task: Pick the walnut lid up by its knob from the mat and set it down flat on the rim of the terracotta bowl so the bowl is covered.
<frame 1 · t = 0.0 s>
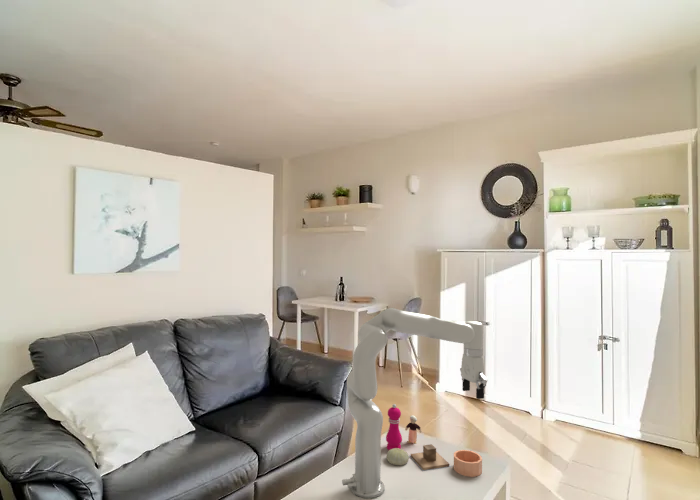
hand: (472, 394, 162), 31 cm above the table, tool pointing down, fingers open, 9 cm apart
lid: (429, 461, 169), resting on mat
sea urchin shell: (397, 462, 170), on the table
bowl: (467, 469, 163), on the table
pepper mill: (393, 449, 181), on the table
mat: (429, 461, 169), on the table
grandmother figurine: (413, 443, 187), on the table
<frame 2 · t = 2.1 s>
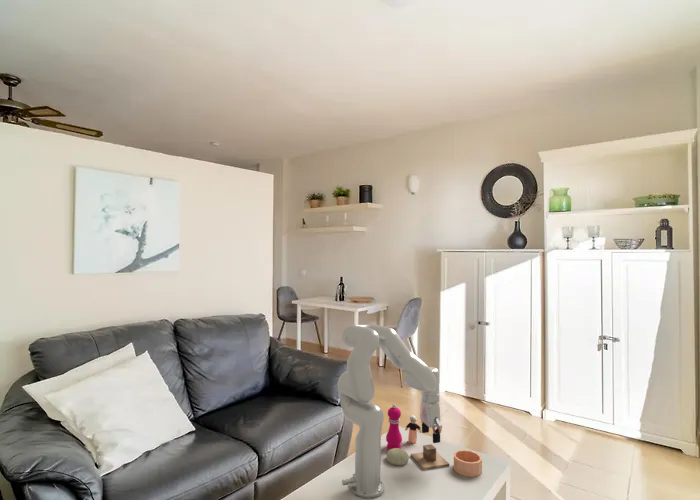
hand: (430, 437, 170), 10 cm above the table, tool pointing down, fingers open, 9 cm apart
nothing on the table moved.
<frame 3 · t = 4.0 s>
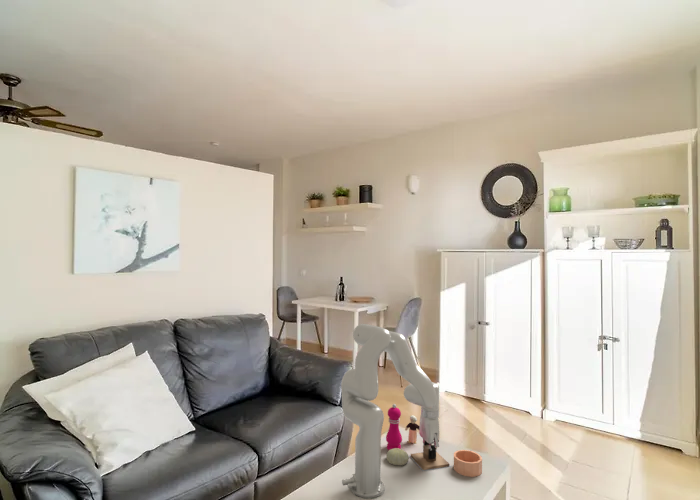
hand: (429, 455, 169), 3 cm above the table, tool pointing down, fingers closed on lid, 4 cm apart
lid: (429, 461, 169), resting on mat, touching gripper
everything else where it was.
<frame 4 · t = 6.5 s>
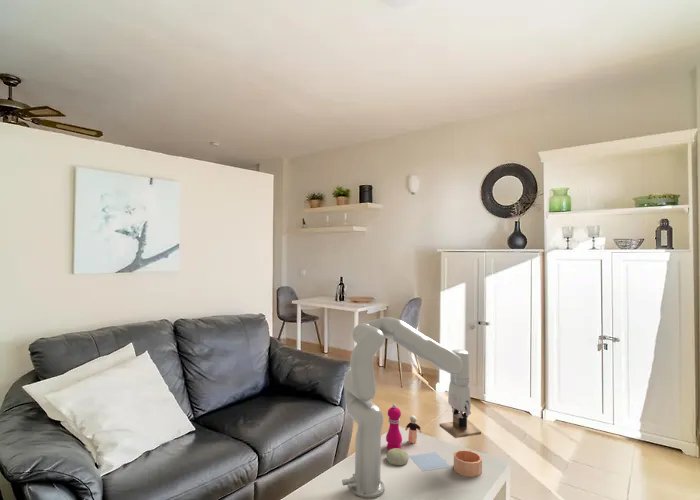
hand: (459, 424, 165), 18 cm above the table, tool pointing down, fingers closed on lid, 4 cm apart
lid: (459, 430, 165), point 15 cm above the table, touching gripper
everything else where it was.
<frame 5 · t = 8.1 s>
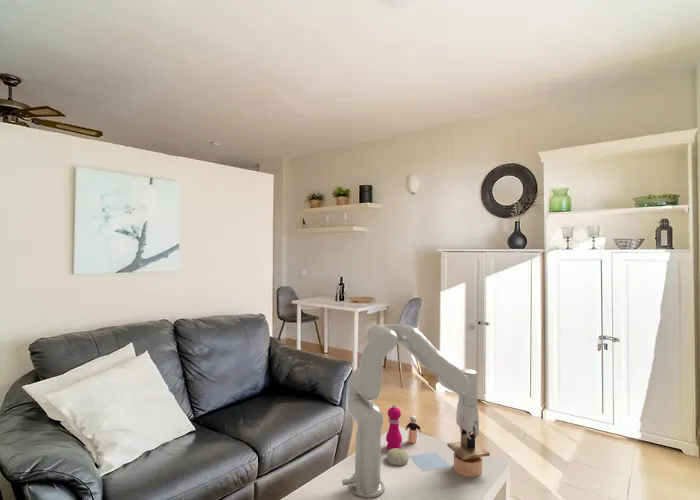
hand: (467, 445, 164), 10 cm above the table, tool pointing down, fingers closed on lid, 4 cm apart
lid: (468, 450, 164), point 8 cm above the table, touching gripper
everything else where it was.
when the fingers open (9 cm above the table, at t = 9.3 s): lid drops 1 cm, resting on bowl.
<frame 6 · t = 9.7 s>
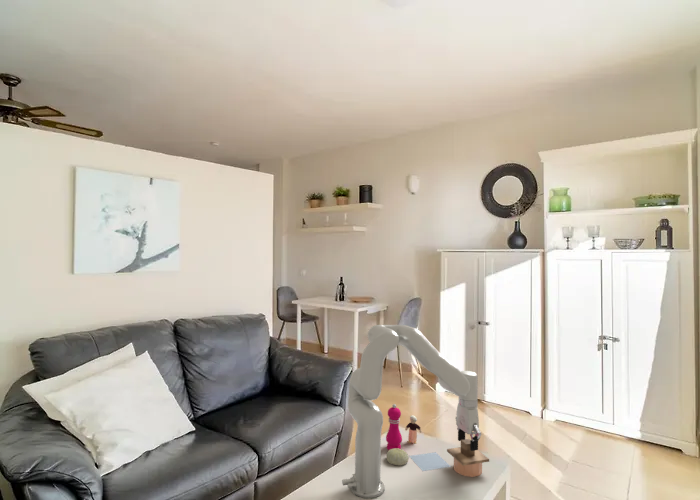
hand: (467, 445, 164), 10 cm above the table, tool pointing down, fingers open, 8 cm apart
lid: (467, 456, 163), point 5 cm above the table, touching bowl
everything else where it was.
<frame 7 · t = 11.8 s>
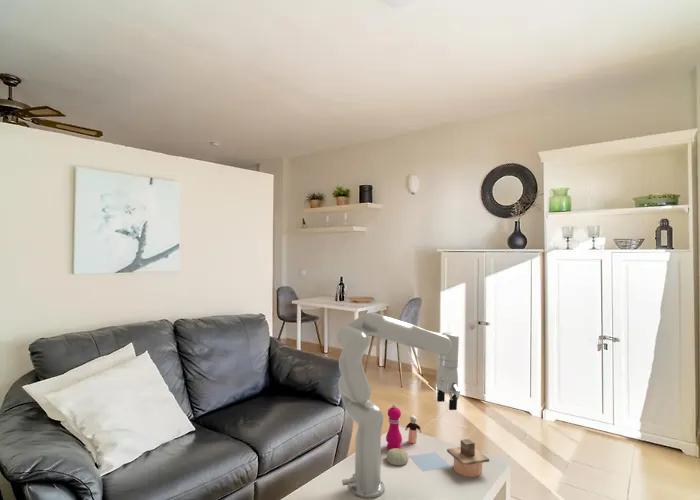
hand: (446, 405, 164), 26 cm above the table, tool pointing down, fingers open, 9 cm apart
nothing on the table moved.
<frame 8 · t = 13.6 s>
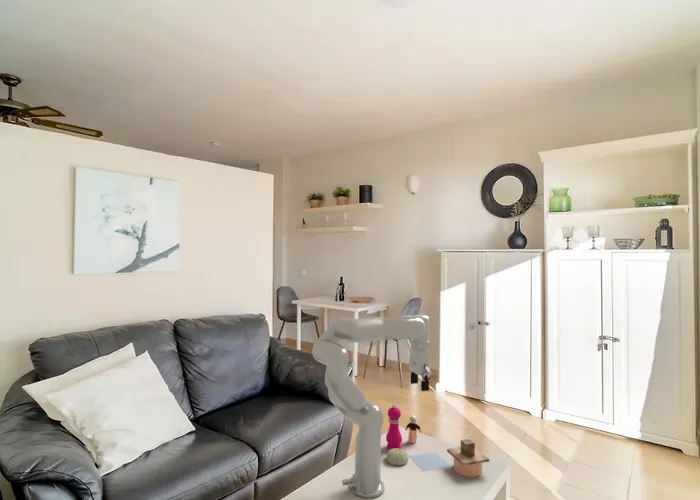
hand: (419, 386, 165), 33 cm above the table, tool pointing down, fingers open, 9 cm apart
nothing on the table moved.
at the end: lid 0.0 cm off-centre on the bowl, point 5.5 cm above the bowl's base; lid tilted 0°; the gripper is holding nothing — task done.
